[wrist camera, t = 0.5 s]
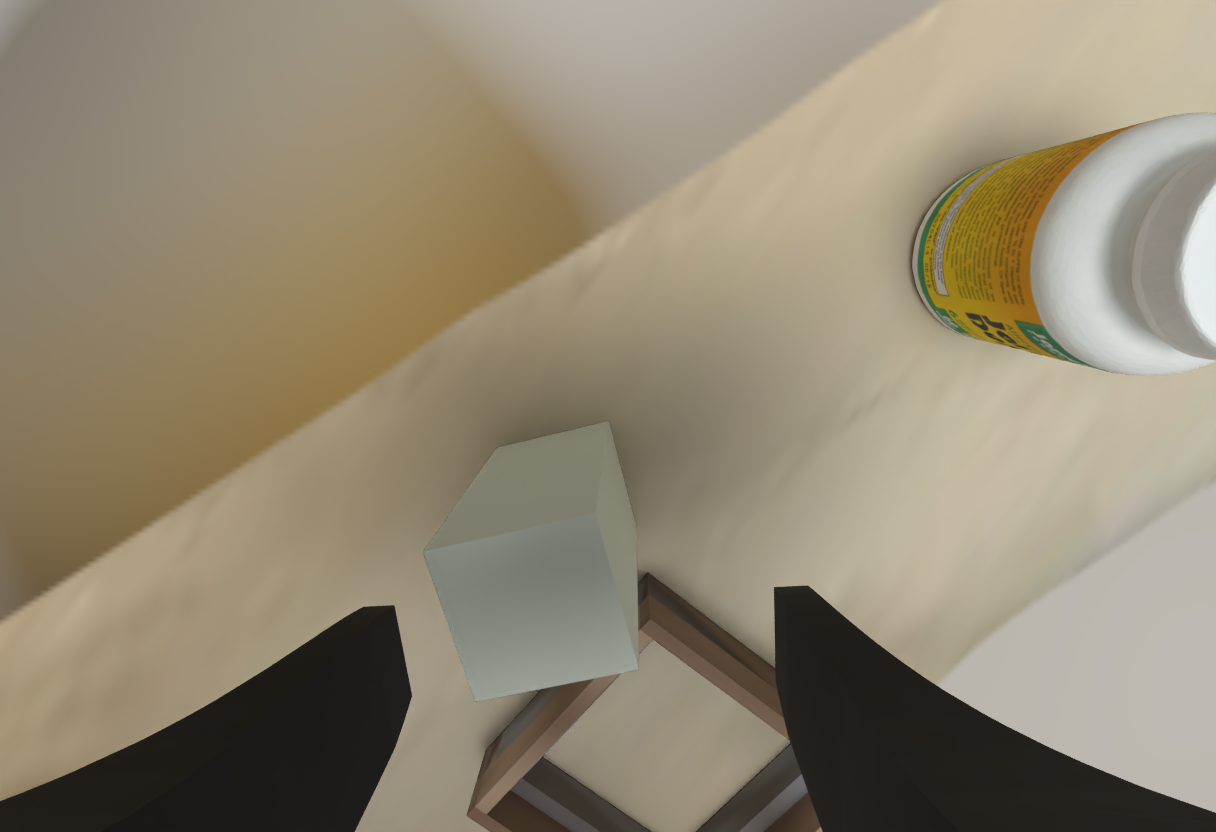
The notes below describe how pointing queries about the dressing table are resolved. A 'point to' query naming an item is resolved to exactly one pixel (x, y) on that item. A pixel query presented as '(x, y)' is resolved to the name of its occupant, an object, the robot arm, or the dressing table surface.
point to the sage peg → (541, 566)
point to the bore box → (513, 765)
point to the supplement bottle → (1084, 250)
